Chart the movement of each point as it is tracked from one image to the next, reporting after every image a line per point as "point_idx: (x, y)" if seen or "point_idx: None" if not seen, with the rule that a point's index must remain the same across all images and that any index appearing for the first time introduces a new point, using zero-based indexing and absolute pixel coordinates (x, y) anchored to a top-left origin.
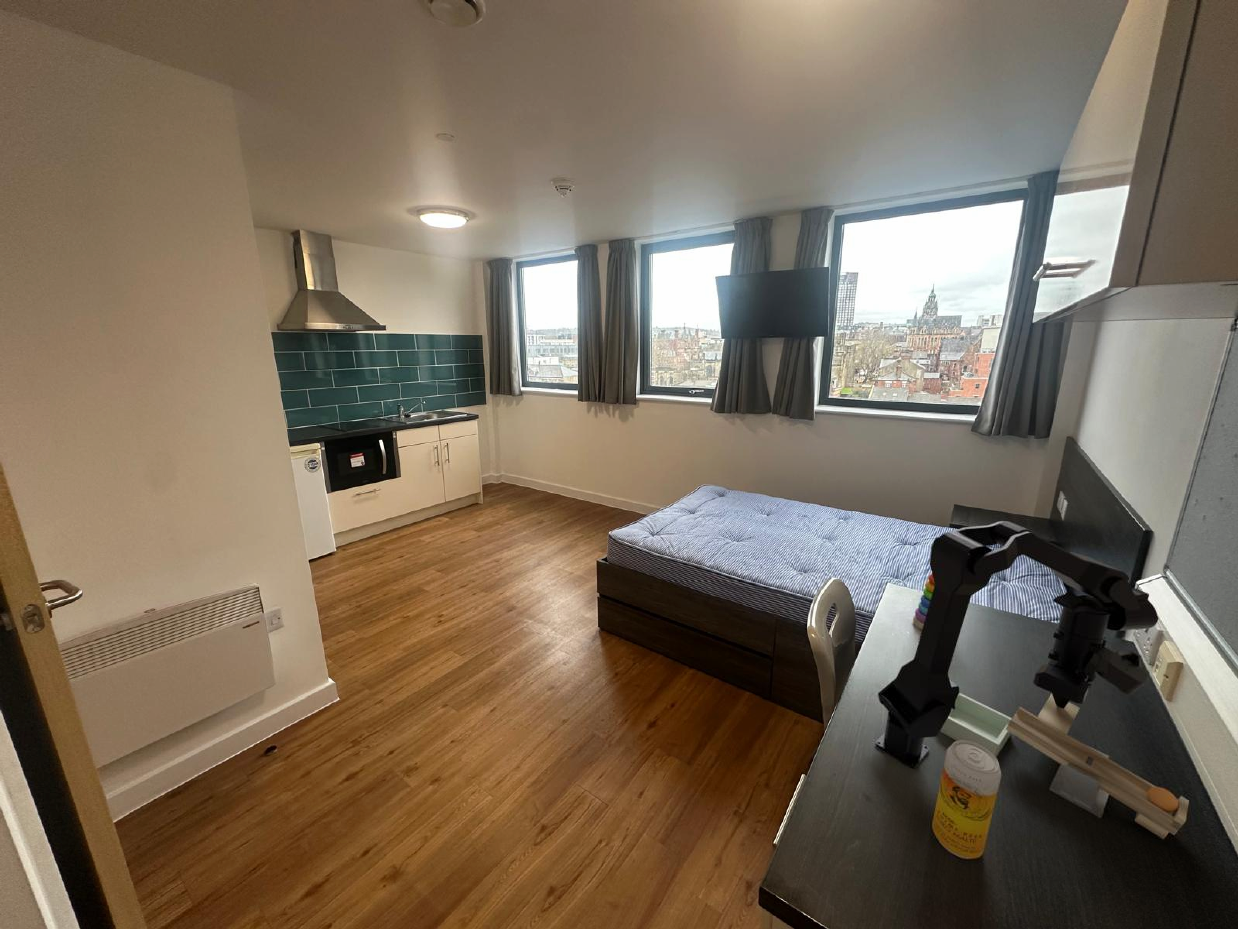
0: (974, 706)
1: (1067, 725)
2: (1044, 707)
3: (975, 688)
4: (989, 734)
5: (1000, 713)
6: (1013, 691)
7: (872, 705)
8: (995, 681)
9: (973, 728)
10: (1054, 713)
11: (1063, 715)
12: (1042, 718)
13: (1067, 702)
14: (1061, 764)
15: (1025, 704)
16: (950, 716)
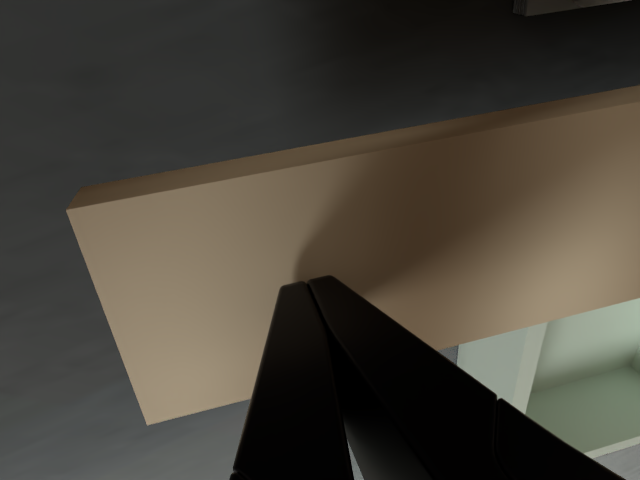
0: None
1: (541, 144)
2: (462, 339)
3: (233, 461)
4: None
5: (527, 363)
6: (50, 417)
7: (630, 463)
8: (65, 477)
9: (560, 326)
10: (468, 271)
11: (413, 226)
12: (621, 276)
13: (403, 333)
14: (567, 6)
15: (107, 343)
16: (545, 388)
